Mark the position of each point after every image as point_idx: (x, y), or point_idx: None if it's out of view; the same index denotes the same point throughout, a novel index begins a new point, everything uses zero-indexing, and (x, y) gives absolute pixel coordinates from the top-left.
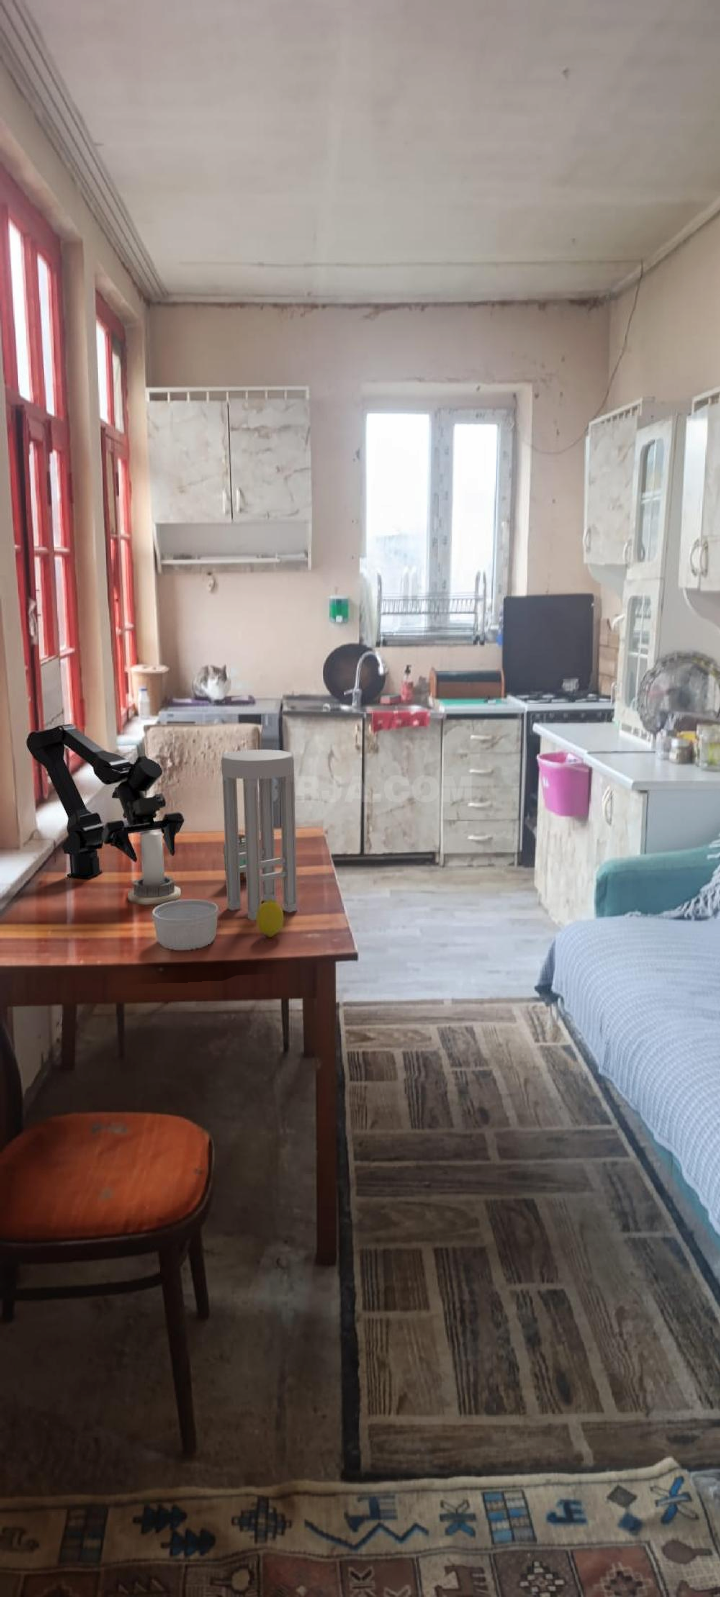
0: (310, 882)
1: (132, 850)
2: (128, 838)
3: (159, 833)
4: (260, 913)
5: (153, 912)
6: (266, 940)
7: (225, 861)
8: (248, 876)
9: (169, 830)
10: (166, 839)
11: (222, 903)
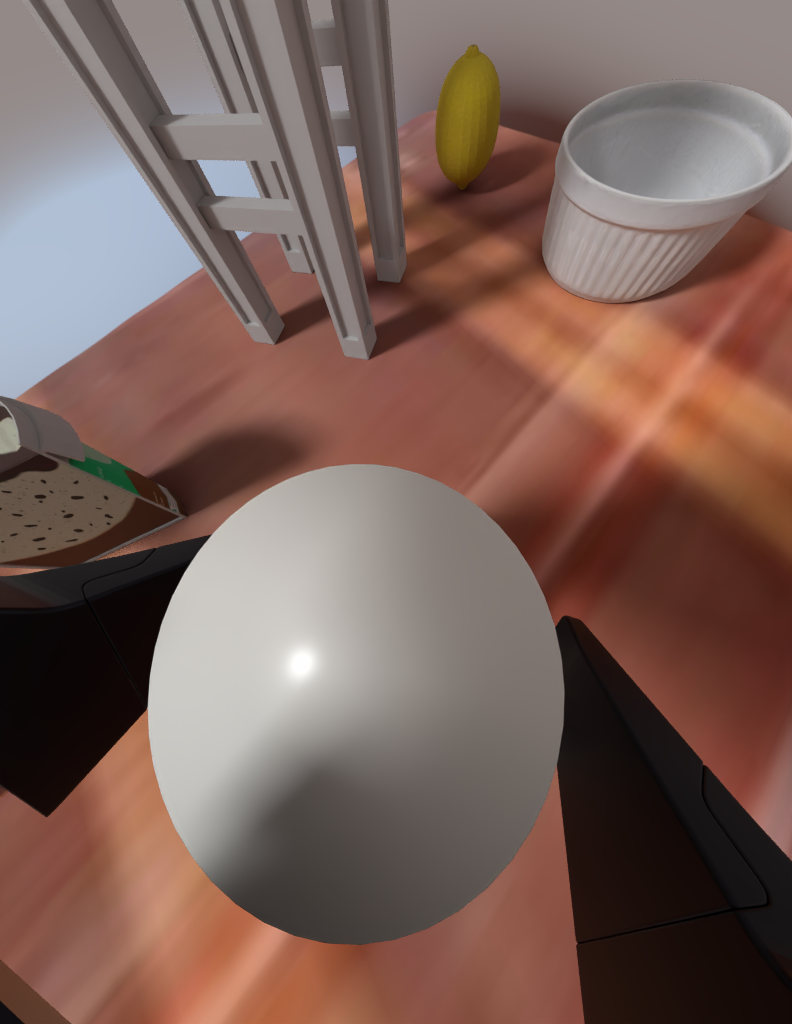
0: (104, 363)
1: (623, 695)
2: (785, 959)
3: (281, 516)
4: (499, 92)
5: (790, 158)
6: (480, 182)
7: (113, 481)
8: (380, 116)
9: (23, 605)
10: (132, 678)
11: (345, 394)
